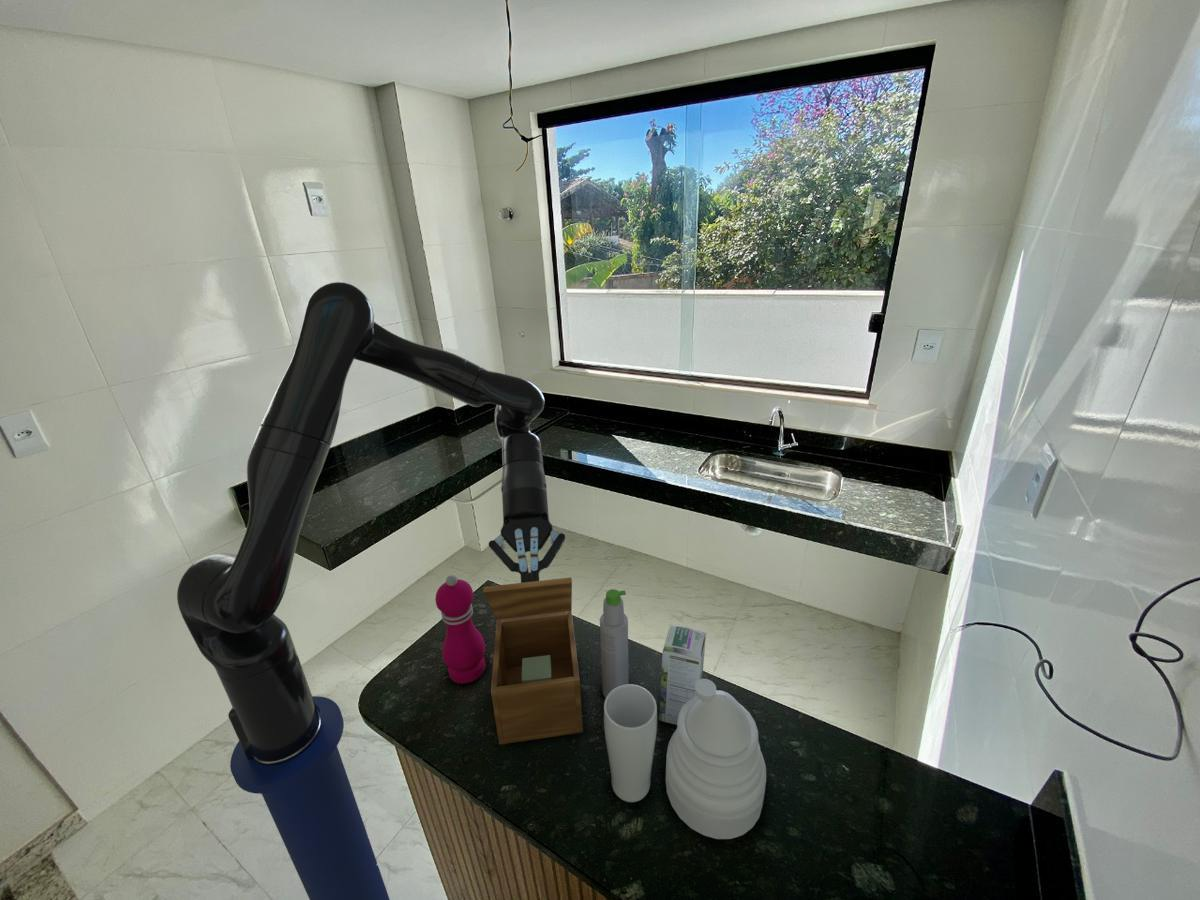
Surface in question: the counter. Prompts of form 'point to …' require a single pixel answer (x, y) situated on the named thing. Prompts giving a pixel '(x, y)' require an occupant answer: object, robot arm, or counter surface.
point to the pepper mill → (460, 631)
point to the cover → (530, 598)
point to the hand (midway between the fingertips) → (531, 597)
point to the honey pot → (715, 765)
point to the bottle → (614, 642)
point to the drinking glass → (630, 739)
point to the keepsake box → (541, 702)
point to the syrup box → (680, 670)
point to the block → (536, 669)
